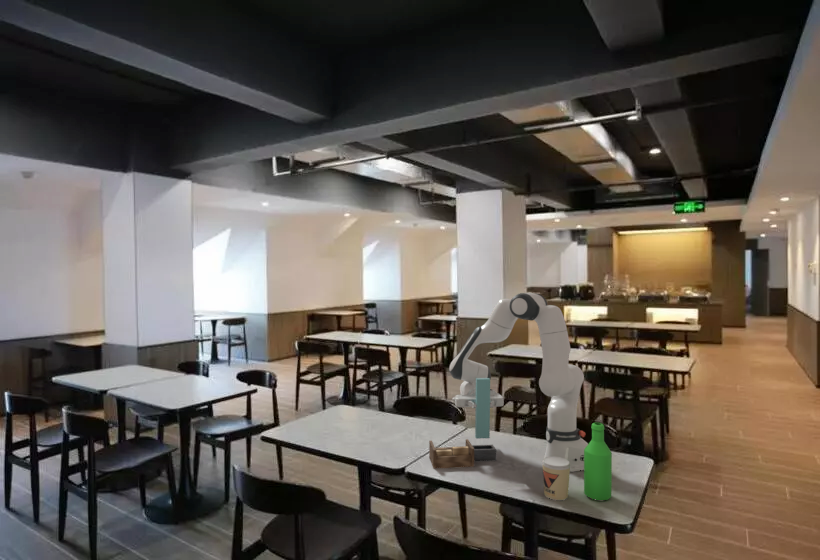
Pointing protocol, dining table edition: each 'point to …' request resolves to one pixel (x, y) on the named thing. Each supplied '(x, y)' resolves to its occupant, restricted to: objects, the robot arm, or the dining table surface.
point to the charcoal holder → (484, 453)
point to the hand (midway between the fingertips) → (483, 406)
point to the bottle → (597, 466)
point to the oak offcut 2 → (460, 450)
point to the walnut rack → (451, 457)
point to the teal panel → (482, 408)
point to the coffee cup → (556, 477)
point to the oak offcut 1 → (444, 452)
